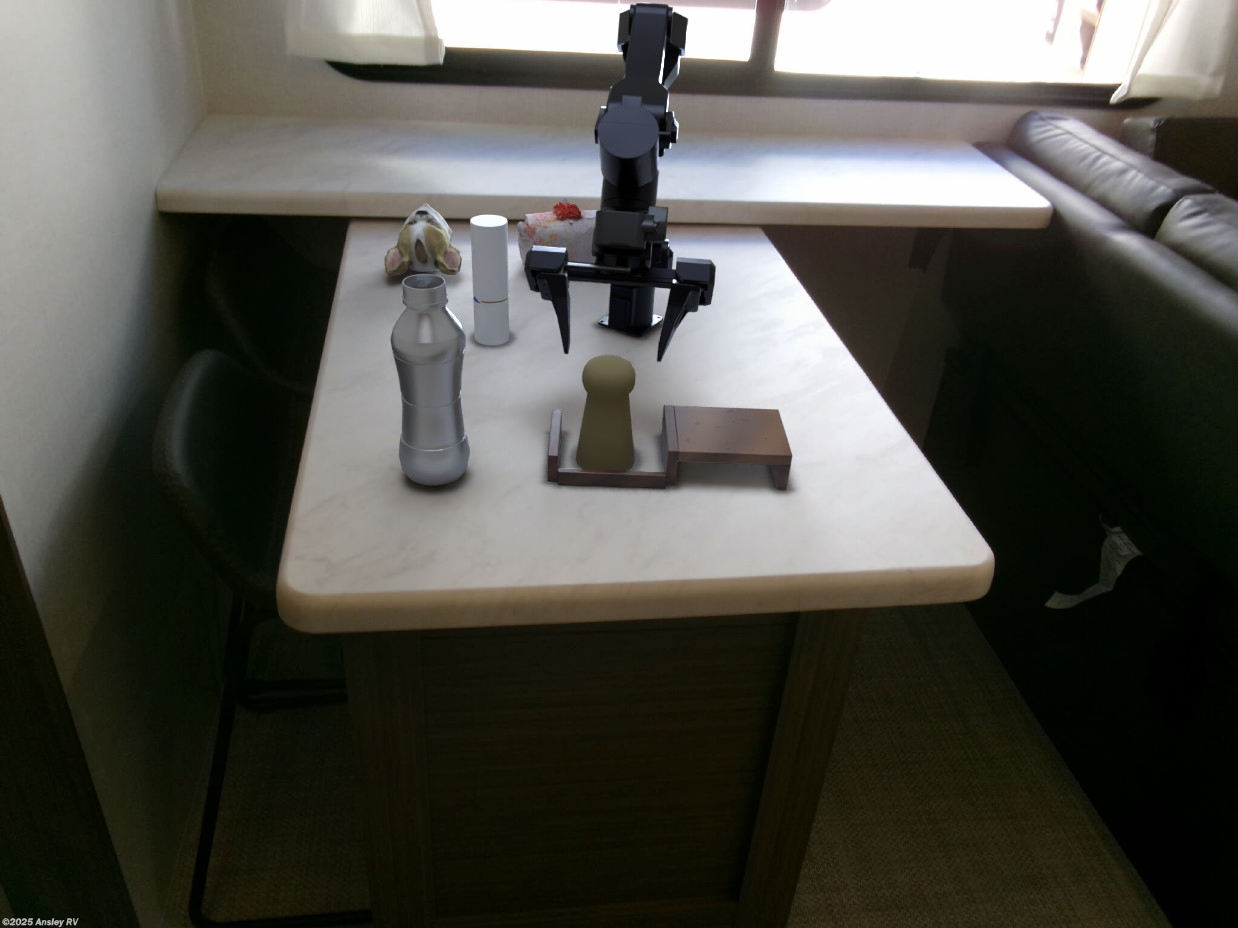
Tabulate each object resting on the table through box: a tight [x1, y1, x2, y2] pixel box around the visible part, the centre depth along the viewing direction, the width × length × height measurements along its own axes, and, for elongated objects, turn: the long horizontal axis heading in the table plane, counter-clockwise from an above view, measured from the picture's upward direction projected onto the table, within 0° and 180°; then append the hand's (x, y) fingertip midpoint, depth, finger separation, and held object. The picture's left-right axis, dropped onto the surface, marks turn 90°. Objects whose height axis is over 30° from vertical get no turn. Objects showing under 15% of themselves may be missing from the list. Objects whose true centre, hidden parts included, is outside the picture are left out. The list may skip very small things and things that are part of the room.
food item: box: [516, 197, 597, 266], centre depth 136 cm, size 14×8×10 cm, turn 104°
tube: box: [469, 214, 510, 346], centre depth 115 cm, size 4×4×15 cm
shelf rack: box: [546, 404, 793, 490], centre depth 95 cm, size 24×10×4 cm, turn 90°
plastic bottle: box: [390, 273, 471, 487], centre depth 87 cm, size 6×7×20 cm
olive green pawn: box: [575, 354, 637, 471], centre depth 93 cm, size 6×6×11 cm
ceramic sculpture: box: [383, 202, 463, 276], centre depth 135 cm, size 11×9×15 cm
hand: (612, 356), depth 93 cm, fingers open, 9 cm apart
